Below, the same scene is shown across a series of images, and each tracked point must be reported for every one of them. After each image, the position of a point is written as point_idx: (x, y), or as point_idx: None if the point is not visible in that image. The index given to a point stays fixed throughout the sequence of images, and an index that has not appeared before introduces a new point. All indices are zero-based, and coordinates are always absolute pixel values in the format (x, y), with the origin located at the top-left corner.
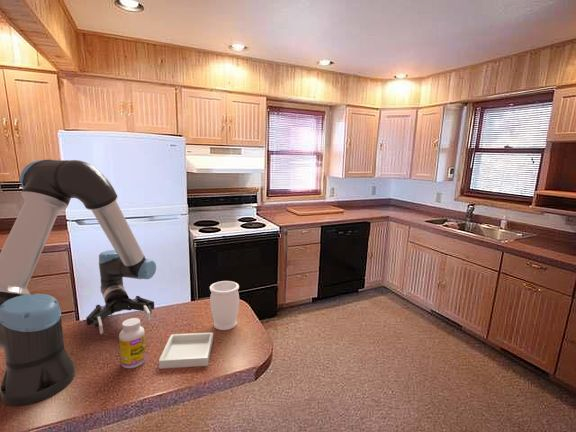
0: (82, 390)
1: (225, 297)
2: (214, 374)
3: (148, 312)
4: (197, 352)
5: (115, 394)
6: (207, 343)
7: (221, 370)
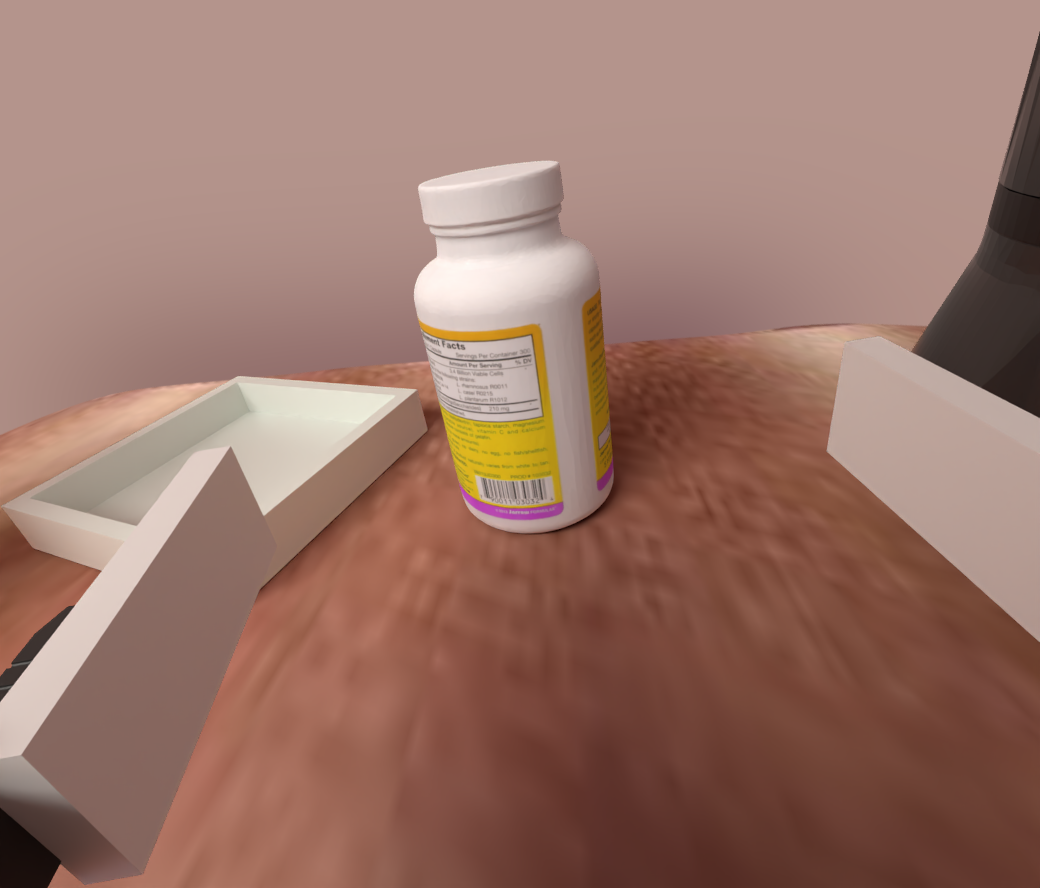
0: (773, 396)
1: None
2: None
3: (213, 457)
4: None
5: (615, 369)
6: (109, 504)
7: None
